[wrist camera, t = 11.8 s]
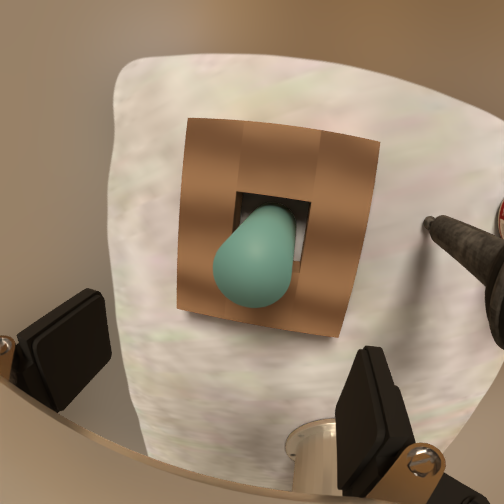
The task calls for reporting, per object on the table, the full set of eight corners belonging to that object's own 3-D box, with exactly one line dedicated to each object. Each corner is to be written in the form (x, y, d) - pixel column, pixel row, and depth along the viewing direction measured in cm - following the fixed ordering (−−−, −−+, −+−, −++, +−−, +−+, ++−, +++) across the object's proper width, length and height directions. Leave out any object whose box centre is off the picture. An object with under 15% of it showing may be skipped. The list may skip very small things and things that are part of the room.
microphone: (444, 176, 23) (609, 220, 4) (462, 239, 25) (596, 340, 6) (386, 202, 25) (527, 292, 6) (408, 266, 26) (514, 410, 8)
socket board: (335, 321, 30) (338, 337, 27) (187, 295, 31) (176, 308, 29) (371, 143, 24) (380, 142, 21) (199, 121, 26) (187, 117, 23)
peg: (292, 251, 28) (284, 313, 17) (246, 244, 29) (210, 300, 17) (299, 206, 27) (297, 240, 15) (252, 198, 27) (215, 227, 16)
